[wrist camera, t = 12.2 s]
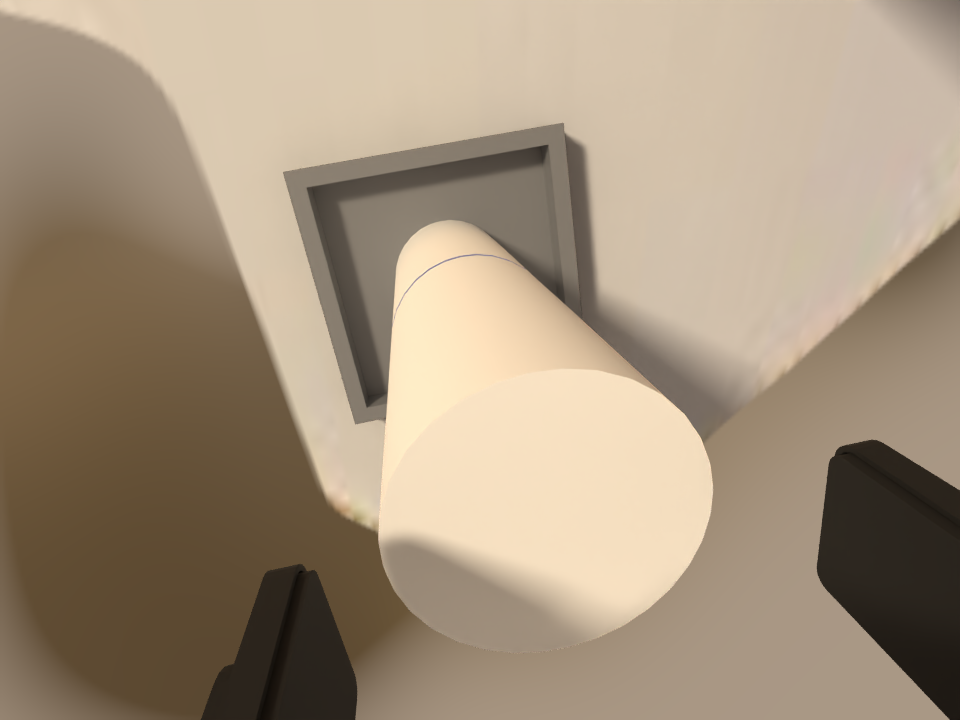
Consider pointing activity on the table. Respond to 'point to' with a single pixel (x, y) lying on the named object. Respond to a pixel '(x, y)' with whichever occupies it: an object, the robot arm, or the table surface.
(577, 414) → the cylindrical container
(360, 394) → the desk tray
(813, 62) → the table surface
